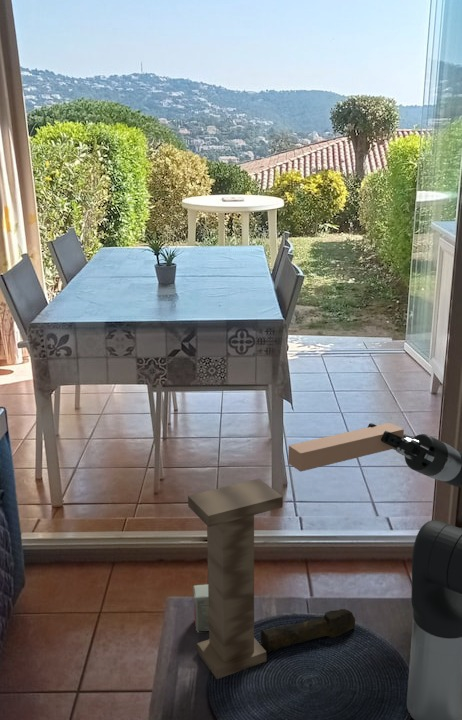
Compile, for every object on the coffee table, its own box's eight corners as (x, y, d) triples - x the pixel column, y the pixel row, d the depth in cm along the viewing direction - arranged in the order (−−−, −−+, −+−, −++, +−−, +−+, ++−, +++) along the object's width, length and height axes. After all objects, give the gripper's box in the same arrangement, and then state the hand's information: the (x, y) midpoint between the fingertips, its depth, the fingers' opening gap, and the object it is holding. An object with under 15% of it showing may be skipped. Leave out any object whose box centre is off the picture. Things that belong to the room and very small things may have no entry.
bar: (389, 439, 142) (390, 422, 141) (402, 446, 139) (403, 429, 138) (288, 463, 132) (288, 445, 131) (300, 471, 129) (300, 453, 128)
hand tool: (266, 658, 133) (266, 636, 132) (259, 644, 137) (259, 622, 135) (360, 638, 138) (361, 616, 137) (351, 625, 142) (352, 604, 141)
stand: (258, 631, 140) (259, 478, 131) (280, 655, 133) (282, 496, 124) (192, 654, 134) (187, 495, 125) (211, 681, 127) (208, 515, 118)
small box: (219, 617, 144) (219, 582, 142) (221, 631, 140) (221, 595, 138) (194, 619, 144) (193, 584, 141) (195, 633, 140) (194, 597, 137)
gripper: (417, 429, 152) (361, 402, 143) (467, 454, 140) (410, 426, 131) (401, 462, 153) (344, 437, 144) (450, 489, 140) (391, 463, 131)
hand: (376, 432), depth 137 cm, fingers closed on bar, 4 cm apart
